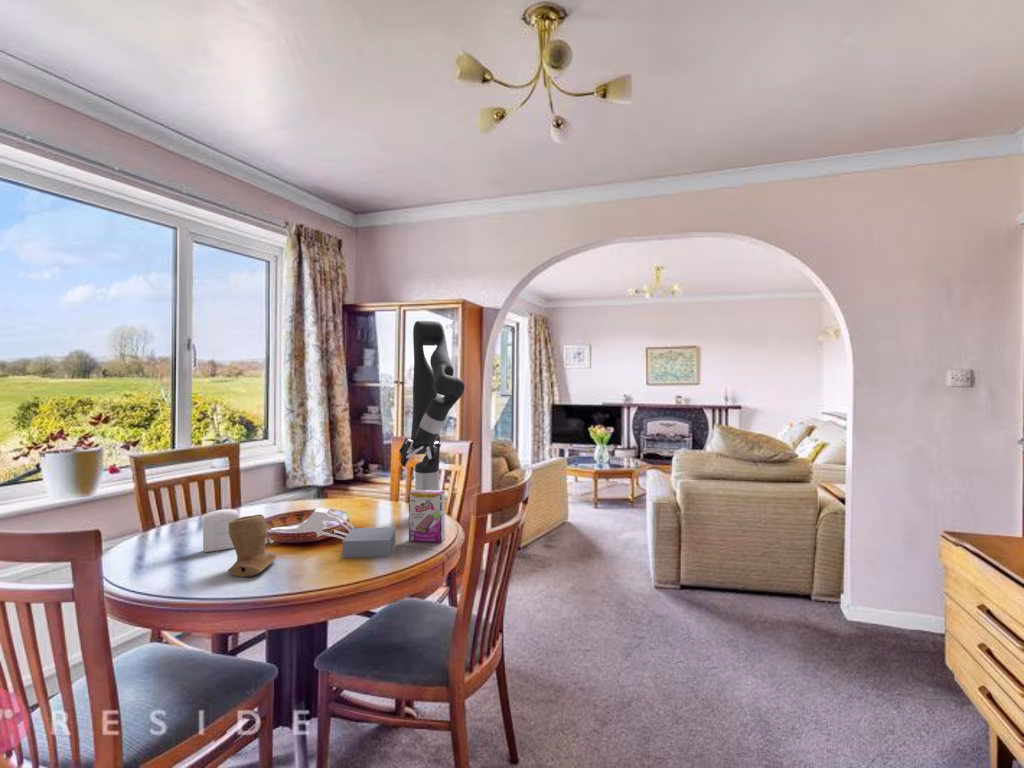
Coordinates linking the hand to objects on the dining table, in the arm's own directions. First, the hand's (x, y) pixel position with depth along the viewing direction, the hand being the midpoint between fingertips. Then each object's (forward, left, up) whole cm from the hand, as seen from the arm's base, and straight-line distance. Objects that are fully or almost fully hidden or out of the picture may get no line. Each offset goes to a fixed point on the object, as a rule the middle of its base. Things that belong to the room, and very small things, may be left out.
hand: (412, 465), depth 193 cm
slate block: (+22, -11, -22) cm, 34 cm away
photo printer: (+16, -58, -23) cm, 65 cm away
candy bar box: (+14, +6, -23) cm, 27 cm away
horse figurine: (+11, -32, -23) cm, 41 cm away
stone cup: (+36, -42, -23) cm, 60 cm away
